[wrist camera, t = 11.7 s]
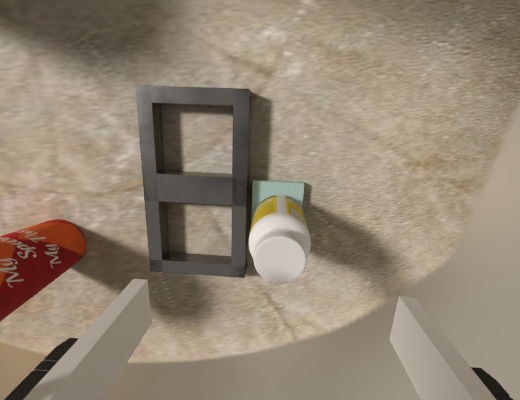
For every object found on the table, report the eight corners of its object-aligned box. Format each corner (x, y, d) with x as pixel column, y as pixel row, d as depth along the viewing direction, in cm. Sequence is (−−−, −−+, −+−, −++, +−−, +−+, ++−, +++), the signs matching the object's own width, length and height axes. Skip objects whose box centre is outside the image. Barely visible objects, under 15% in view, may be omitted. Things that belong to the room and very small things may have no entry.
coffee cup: (101, 225, 32) (-46, 305, 17) (88, 280, 34) (-52, 392, 20) (34, 199, 32) (-171, 259, 17) (25, 257, 34) (-163, 353, 19)
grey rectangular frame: (145, 88, 27) (135, 85, 26) (251, 91, 27) (249, 88, 25) (157, 262, 33) (150, 271, 31) (246, 268, 32) (244, 277, 30)
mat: (253, 179, 29) (252, 180, 28) (303, 182, 29) (304, 183, 28) (251, 246, 31) (250, 249, 30) (298, 249, 31) (298, 252, 30)
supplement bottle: (252, 236, 30) (240, 286, 21) (257, 190, 29) (246, 221, 19) (299, 242, 30) (309, 296, 20) (307, 196, 28) (321, 231, 19)
